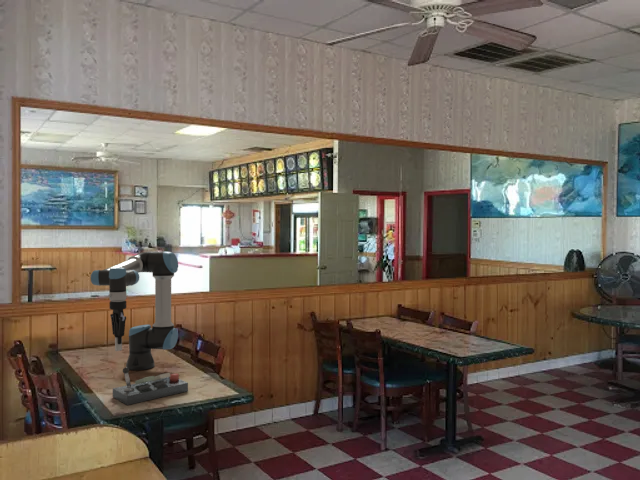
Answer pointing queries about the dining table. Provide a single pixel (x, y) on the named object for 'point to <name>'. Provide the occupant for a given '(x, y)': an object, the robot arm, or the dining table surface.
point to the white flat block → (144, 380)
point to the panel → (149, 390)
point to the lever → (127, 377)
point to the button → (174, 377)
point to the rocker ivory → (161, 376)
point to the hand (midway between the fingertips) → (118, 350)
